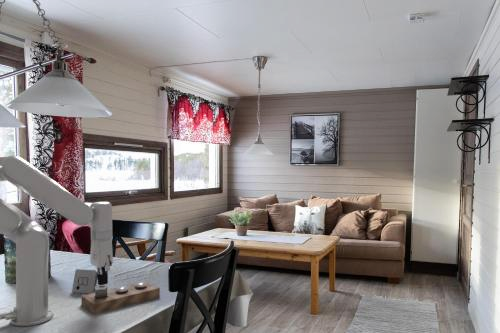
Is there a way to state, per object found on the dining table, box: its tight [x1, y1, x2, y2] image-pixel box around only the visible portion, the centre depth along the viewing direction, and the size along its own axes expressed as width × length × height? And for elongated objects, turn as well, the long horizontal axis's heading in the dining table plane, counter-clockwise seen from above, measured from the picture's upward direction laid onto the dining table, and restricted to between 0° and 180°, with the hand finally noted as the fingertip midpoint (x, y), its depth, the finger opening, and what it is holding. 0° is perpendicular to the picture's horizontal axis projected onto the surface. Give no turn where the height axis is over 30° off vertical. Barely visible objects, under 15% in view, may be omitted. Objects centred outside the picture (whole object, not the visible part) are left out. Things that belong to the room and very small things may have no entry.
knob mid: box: [115, 285, 128, 294], centre depth 149 cm, size 4×4×4 cm
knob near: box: [94, 284, 109, 299], centre depth 143 cm, size 4×4×4 cm
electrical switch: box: [71, 268, 98, 294], centre depth 160 cm, size 9×5×9 cm, turn 78°
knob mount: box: [80, 281, 161, 315], centre depth 149 cm, size 26×12×4 cm, turn 134°
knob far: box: [134, 281, 147, 289], centre depth 154 cm, size 4×4×4 cm
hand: (102, 284), depth 144 cm, fingers closed
